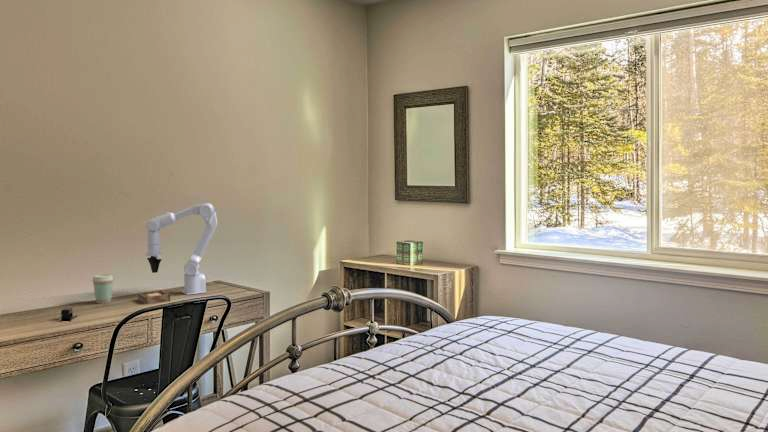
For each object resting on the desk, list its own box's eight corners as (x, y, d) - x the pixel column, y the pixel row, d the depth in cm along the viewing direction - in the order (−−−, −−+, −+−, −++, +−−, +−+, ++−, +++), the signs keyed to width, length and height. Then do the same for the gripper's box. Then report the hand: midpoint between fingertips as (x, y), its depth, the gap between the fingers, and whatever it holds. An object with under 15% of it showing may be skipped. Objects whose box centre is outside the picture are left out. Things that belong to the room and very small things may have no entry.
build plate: (63, 316, 243) (62, 305, 242) (82, 315, 244) (81, 304, 244) (51, 324, 230) (51, 313, 230) (72, 323, 232) (71, 312, 231)
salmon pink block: (157, 299, 274) (157, 292, 274) (162, 301, 270) (162, 295, 269) (146, 300, 271) (146, 294, 271) (150, 303, 267) (150, 296, 266)
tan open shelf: (162, 296, 278) (161, 290, 278) (170, 300, 270) (170, 294, 270) (137, 299, 272) (137, 293, 271) (145, 304, 263) (145, 297, 263)
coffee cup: (117, 300, 270) (117, 274, 269) (107, 304, 262) (106, 277, 261) (100, 299, 271) (99, 273, 270) (88, 304, 262) (88, 277, 261)
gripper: (140, 243, 285) (141, 271, 287) (150, 246, 274) (151, 275, 275) (155, 242, 290) (156, 269, 291) (165, 245, 279) (166, 273, 280)
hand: (154, 272), depth 283 cm, fingers closed
